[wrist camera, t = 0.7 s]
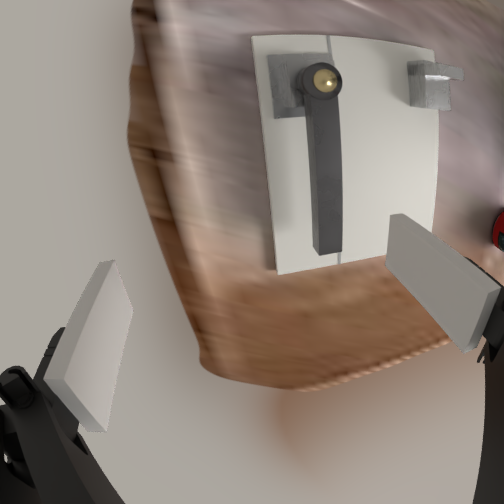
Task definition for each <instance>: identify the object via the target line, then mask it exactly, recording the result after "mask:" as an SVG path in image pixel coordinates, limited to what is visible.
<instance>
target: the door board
mask: <svg viewBox="0 0 504 504" xmlns="http://www.w3.org/2000/svg"><path fill="white" fill-rule="evenodd" d="M251 45H252V52H253V60H254V68H255V76H256V84H257V92H258V100H259V108H260V117H261V126H262V134H263V143H264V152H265V161H266V171H267V180H268V190H269V200H270V210H271V220H272V231H273V241H274V252H275V263H276V271H277V274H278V275H281V274H287V273H292V272H298V271H303V270H309V269H314V268H319V267H325V266H330V265H335V264H341V263H346V262H351V261H356V260H361V259H366V258H371V257H376V256H381V255H386V253H387V244H388V233H389V221H390V215H393V214H400V213H403V214H405V215H406V216H408V217H409V218H411V219H412V220H414V221H415V222H417V223H418V224H420V225H421V226H423V227H424V228H425V229H427V230H428V231H430V232H431V231H432V224H433V216H434V207H435V197H436V185H437V170H438V145H439V116H438V110H436V109H426V108H418V107H410V98H409V83H408V71H407V61H417V60H426V61H431V62H435V57H434V50H430V49H426V48H421V47H416V46H411V45H406V44H401V43H395V42H389V41H382V40H374V39H366V38H357V37H346V36H331V35H262V36H252V37H251ZM304 53H311V54H332V58H333V60H334V64H335V68H336V69H337V70H338V71H339V73H340V74H341V77H342V89H341V91H340V93H339V94H338V103H339V116H340V131H341V151H342V181H343V240H342V252H338V253H333V254H327V255H322V256H319V255H318V254H317V252H316V251H315V249H314V248H313V238H312V211H311V190H310V172H309V157H308V143H307V131H306V119H305V117H292V118H280V119H274V116H273V107H272V98H271V90H270V81H269V73H268V65H267V57H266V55H271V54H304Z"/></svg>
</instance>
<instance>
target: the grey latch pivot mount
mask: <svg viewBox="0 0 504 504" xmlns="http://www.w3.org/2000/svg"><path fill="white" fill-rule="evenodd" d="M266 57H267V65H268V73H269V81H270V90H271V98H272V107H273V116H274V119H280V118H292V117H305V108H304V98H303V94H302V93H301V92H300V90H299V88H298V86H297V77H298V74H299V72H300V71H301V70H302V69H303V68H305V67H307V66H309V65H312V64H315V63H319V62H325V63H329V64H331V65H333V66H334V67H335V64H334V60H333V58H332V54H311V53H304V54H271V55H266Z"/></svg>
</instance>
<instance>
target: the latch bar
mask: <svg viewBox="0 0 504 504" xmlns="http://www.w3.org/2000/svg"><path fill="white" fill-rule="evenodd" d="M297 86H298V88H299V90H300V92H301V93H302V94H303V98H304V108H305V119H306V131H307V143H308V157H309V172H310V190H311V211H312V238H313V248H314V249H315V251H316V252H317V254H318V255H319V256H322V255H327V254H333V253H338V252H342V240H343V181H342V151H341V131H340V116H339V103H338V94H339V93H340V91H341V89H342V77H341V74H340V73H339V71H338V70H337V69H336V68H335V67H334V66H333V65H331V64H329V63H325V62H319V63H315V64H312V65H309V66H307V67H305V68H303V69H302V70H301V71H300V72H299V74H298V77H297Z"/></svg>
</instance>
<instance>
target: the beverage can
mask: <svg viewBox="0 0 504 504" xmlns="http://www.w3.org/2000/svg"><path fill="white" fill-rule="evenodd" d="M493 243H494V245H495V246H496V247H497V248H499V249H500V250H501V251H503V252H504V211H503V212H502V213H501V214H500V215H499V216H498V218H497V220H496V221H495V224H494V227H493Z"/></svg>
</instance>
